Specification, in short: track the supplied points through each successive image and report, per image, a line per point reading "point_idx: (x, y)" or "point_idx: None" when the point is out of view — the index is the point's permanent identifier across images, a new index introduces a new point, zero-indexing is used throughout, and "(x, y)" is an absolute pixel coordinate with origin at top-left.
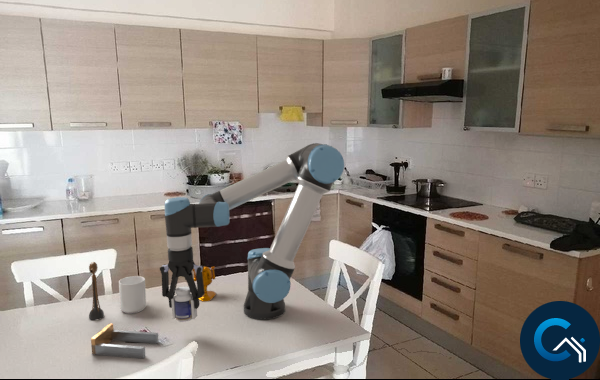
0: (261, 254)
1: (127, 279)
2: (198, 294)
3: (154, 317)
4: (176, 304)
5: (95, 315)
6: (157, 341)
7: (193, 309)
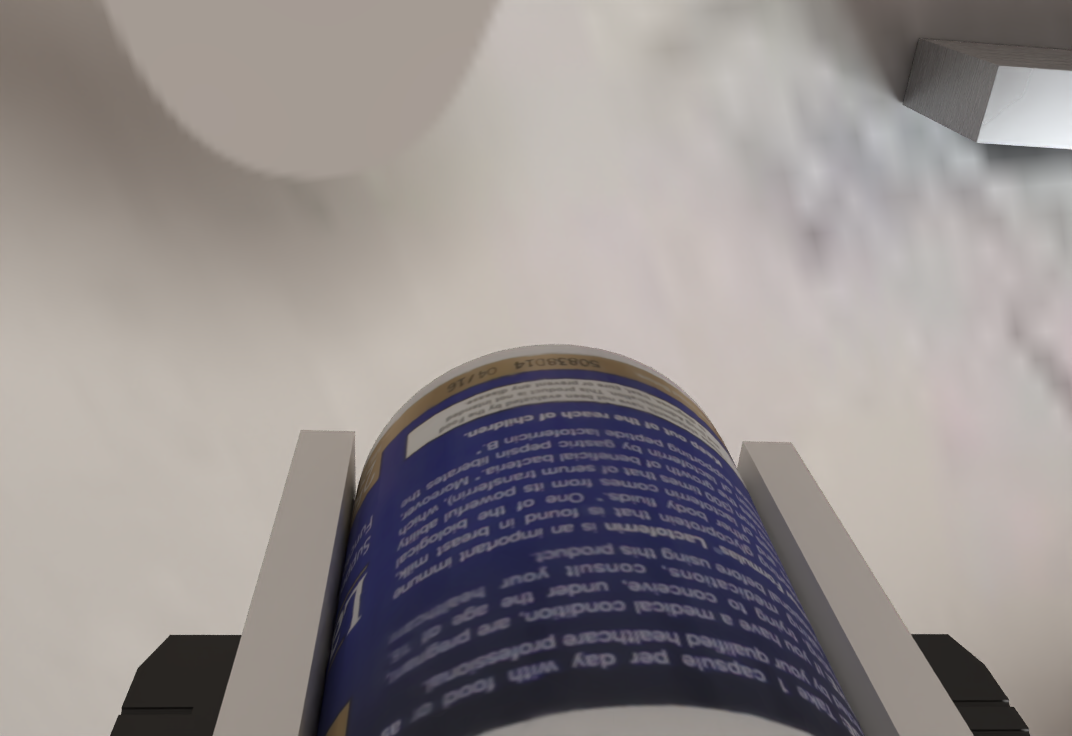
0: None
1: None
2: None
3: (1067, 720)
4: (781, 644)
5: None
6: (923, 69)
7: (261, 587)
